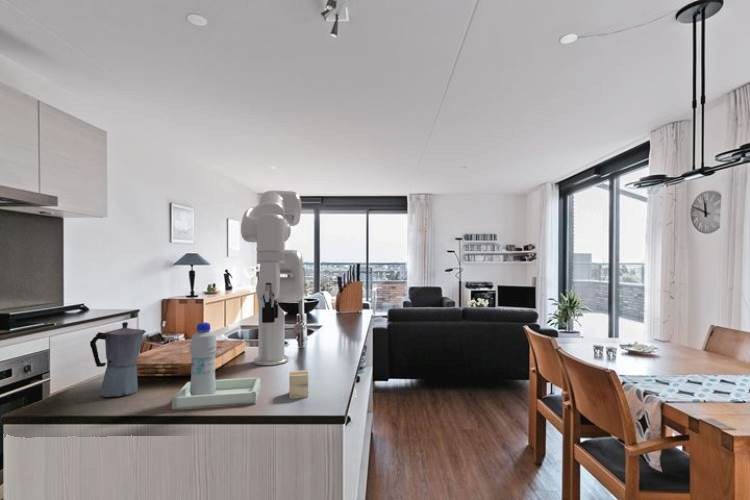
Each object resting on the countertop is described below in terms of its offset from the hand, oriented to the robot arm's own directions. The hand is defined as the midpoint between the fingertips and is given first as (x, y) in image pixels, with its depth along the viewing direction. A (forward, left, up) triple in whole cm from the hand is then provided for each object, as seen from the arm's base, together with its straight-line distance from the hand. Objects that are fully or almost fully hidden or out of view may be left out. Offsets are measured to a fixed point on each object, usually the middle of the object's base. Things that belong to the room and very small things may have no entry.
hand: (270, 320), depth 106 cm
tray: (-2, -13, -21) cm, 25 cm away
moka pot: (-12, -42, -21) cm, 49 cm away
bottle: (-2, -18, -20) cm, 27 cm away
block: (0, +8, -21) cm, 22 cm away
